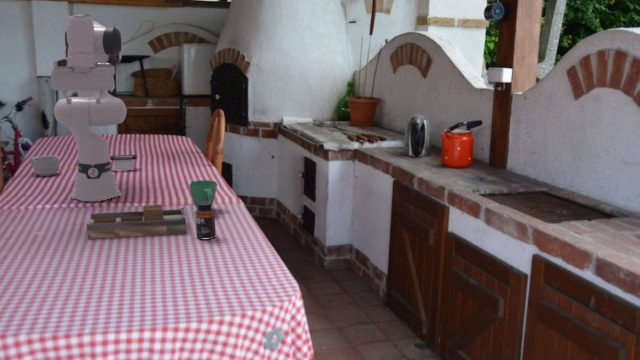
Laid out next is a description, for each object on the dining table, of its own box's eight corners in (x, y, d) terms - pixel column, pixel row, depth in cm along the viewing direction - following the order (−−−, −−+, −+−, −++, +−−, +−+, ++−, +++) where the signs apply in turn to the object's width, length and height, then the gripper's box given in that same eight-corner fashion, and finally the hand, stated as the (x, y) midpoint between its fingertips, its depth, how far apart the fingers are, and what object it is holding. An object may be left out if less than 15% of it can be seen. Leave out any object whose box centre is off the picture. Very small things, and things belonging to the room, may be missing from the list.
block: (144, 218, 210) (143, 205, 209) (163, 217, 211) (162, 204, 210) (144, 223, 204) (143, 210, 203) (163, 222, 206) (162, 209, 205)
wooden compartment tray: (91, 226, 210) (91, 212, 209) (184, 221, 217) (183, 207, 216) (87, 238, 197) (86, 223, 196) (186, 233, 205) (185, 218, 204)
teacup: (65, 174, 285) (63, 157, 283) (43, 178, 276) (42, 160, 274) (45, 170, 292) (44, 153, 290) (24, 174, 283) (22, 157, 281)
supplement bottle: (213, 233, 205) (212, 199, 202) (217, 239, 199) (216, 204, 197) (194, 235, 203) (193, 201, 200) (198, 241, 197) (197, 206, 195)
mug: (187, 207, 234) (186, 181, 232) (213, 205, 238) (212, 179, 236) (197, 218, 221) (196, 190, 219) (224, 215, 225) (224, 188, 223)
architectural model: (152, 174, 289) (151, 153, 287) (94, 177, 282) (92, 155, 280) (151, 166, 307) (150, 146, 305) (97, 168, 301) (96, 147, 299)
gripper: (115, 63, 218) (116, 104, 220) (51, 62, 213) (53, 104, 215) (113, 62, 212) (115, 104, 214) (48, 61, 207) (50, 104, 209)
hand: (84, 104), depth 214 cm, fingers open, 8 cm apart
